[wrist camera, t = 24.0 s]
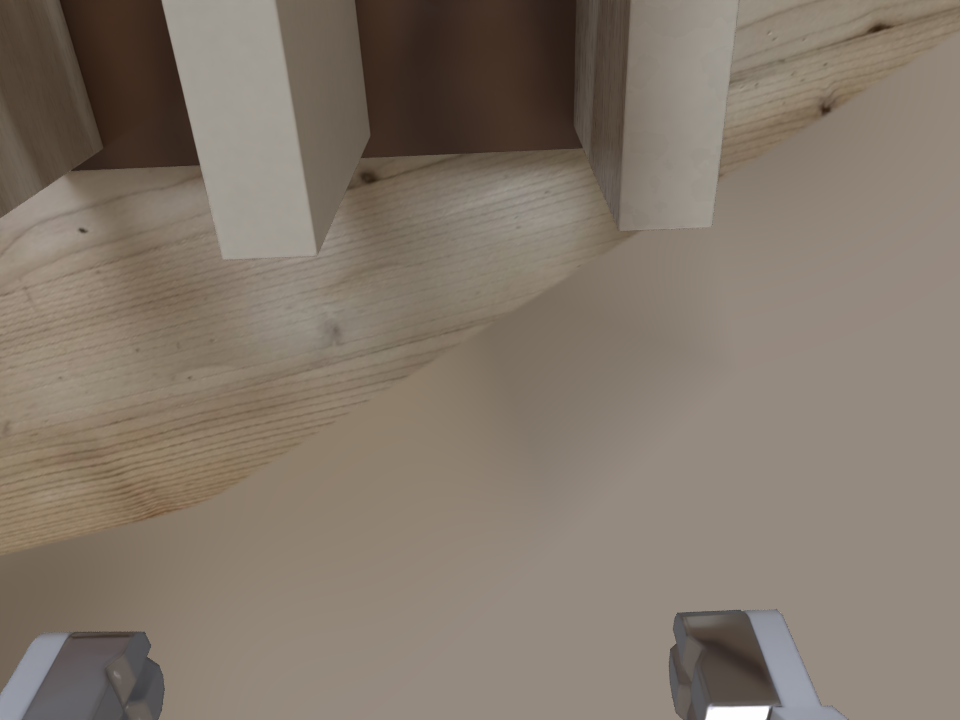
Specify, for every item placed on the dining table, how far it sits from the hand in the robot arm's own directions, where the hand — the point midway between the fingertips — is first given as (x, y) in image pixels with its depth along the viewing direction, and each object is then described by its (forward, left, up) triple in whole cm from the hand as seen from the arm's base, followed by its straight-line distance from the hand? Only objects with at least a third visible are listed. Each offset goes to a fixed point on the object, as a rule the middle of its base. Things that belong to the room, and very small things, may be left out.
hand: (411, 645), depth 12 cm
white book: (+5, -5, -28) cm, 29 cm away
